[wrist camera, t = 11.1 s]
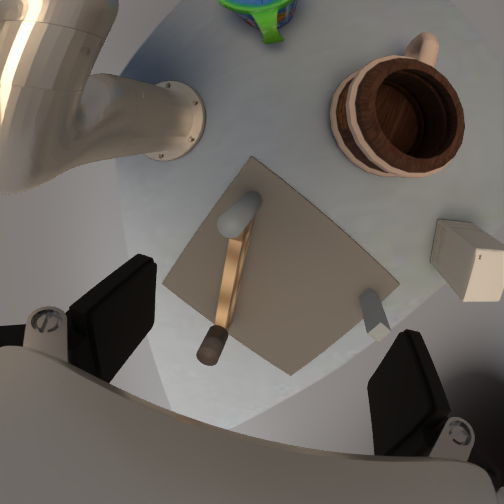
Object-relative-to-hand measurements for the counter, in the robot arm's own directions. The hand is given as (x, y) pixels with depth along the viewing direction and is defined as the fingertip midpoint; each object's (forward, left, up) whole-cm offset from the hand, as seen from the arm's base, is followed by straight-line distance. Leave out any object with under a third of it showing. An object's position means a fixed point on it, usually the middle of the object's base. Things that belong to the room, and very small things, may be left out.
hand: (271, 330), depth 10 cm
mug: (+2, +17, -32) cm, 37 cm away
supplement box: (+24, +10, -32) cm, 42 cm away
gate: (+1, -16, -31) cm, 35 cm away
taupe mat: (+7, -14, -32) cm, 36 cm away
